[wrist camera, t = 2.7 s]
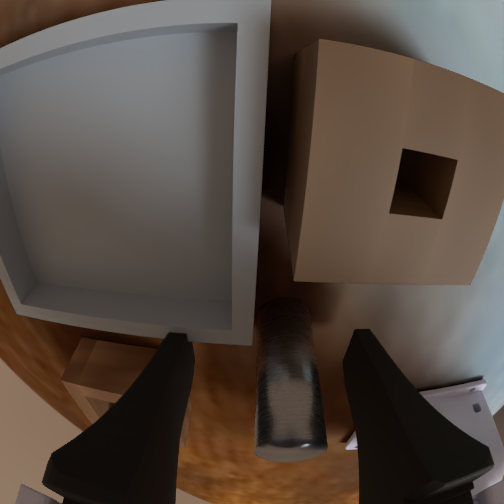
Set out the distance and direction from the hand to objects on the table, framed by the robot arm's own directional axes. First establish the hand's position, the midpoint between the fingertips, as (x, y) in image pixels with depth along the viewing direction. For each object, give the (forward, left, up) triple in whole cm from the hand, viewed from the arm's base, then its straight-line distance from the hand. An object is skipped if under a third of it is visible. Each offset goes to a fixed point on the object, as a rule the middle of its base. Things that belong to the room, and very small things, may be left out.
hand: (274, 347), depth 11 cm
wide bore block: (+7, +6, -2) cm, 9 cm away
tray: (+6, -6, -2) cm, 9 cm away
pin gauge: (0, 0, -2) cm, 2 cm away
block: (-2, -7, -2) cm, 8 cm away
